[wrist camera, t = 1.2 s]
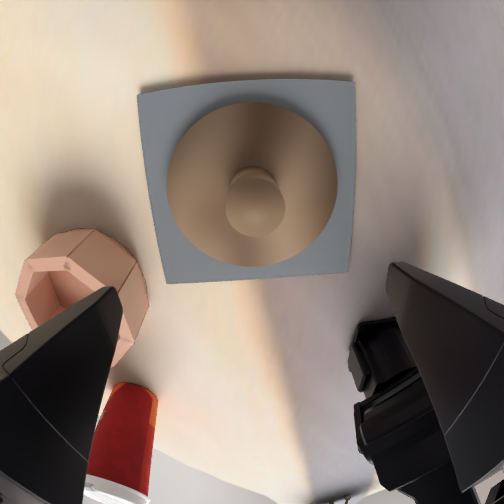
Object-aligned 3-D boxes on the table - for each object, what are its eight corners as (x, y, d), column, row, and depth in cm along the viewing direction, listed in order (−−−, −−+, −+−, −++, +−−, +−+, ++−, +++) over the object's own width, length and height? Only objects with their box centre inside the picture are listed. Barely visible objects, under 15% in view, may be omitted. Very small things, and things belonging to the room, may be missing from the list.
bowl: (131, 222, 21) (104, 253, 16) (158, 328, 25) (145, 369, 21) (34, 234, 21) (1, 261, 16) (69, 326, 25) (49, 360, 21)
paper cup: (93, 380, 29) (57, 480, 16) (141, 371, 28) (109, 490, 15) (131, 417, 32) (110, 508, 20) (179, 411, 31) (165, 516, 18)
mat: (351, 82, 17) (354, 81, 16) (345, 268, 23) (348, 272, 22) (139, 95, 17) (136, 94, 16) (168, 279, 23) (166, 284, 22)
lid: (333, 101, 17) (361, 99, 12) (331, 255, 22) (351, 291, 17) (160, 112, 17) (135, 113, 12) (182, 266, 22) (169, 304, 17)
